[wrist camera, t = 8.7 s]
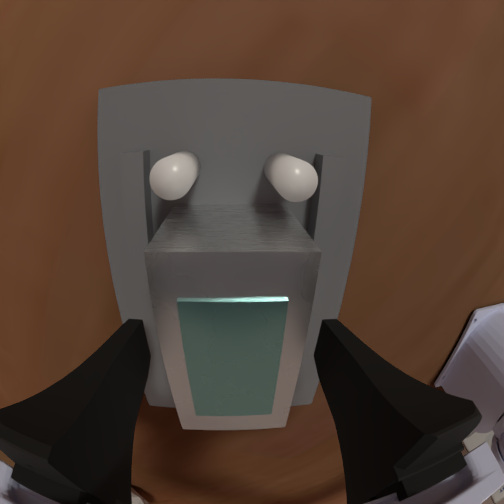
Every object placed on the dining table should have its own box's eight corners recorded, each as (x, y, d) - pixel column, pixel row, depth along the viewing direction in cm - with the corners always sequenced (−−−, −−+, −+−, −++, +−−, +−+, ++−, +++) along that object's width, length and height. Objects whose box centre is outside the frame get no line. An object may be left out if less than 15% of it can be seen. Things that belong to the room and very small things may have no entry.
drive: (271, 356, 16) (285, 428, 11) (189, 357, 15) (182, 430, 11) (286, 205, 12) (322, 253, 7) (175, 204, 12) (143, 253, 7)
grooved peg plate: (309, 395, 19) (320, 435, 16) (150, 397, 18) (143, 438, 15) (363, 98, 11) (408, 92, 8) (106, 91, 10) (64, 81, 6)
